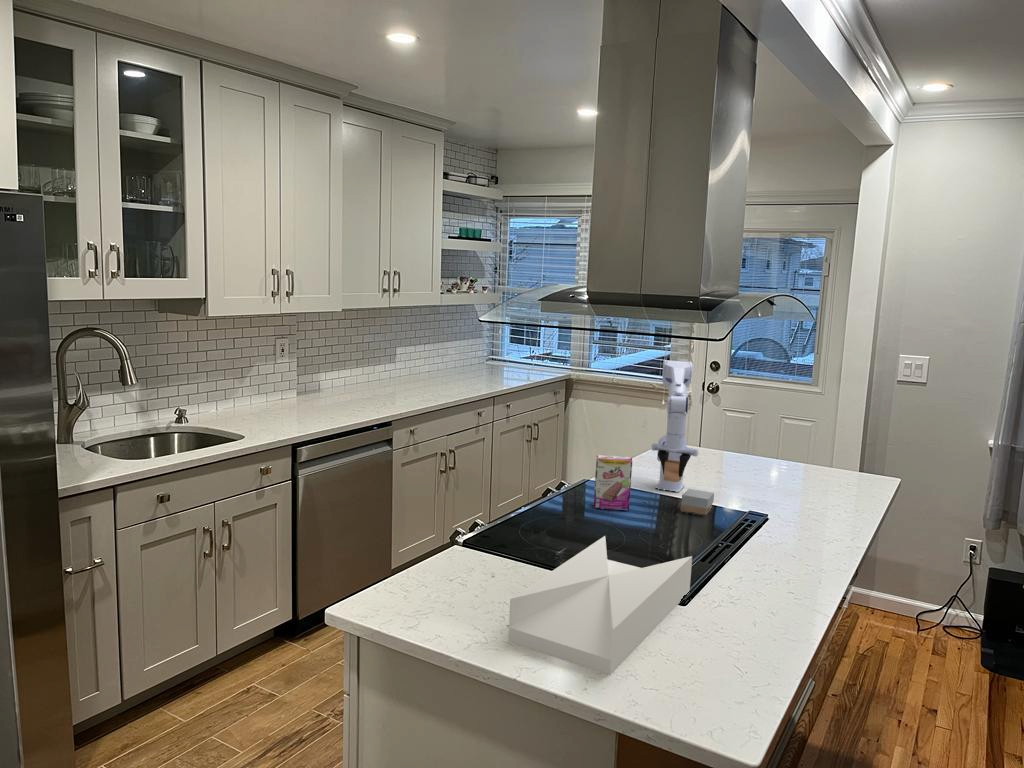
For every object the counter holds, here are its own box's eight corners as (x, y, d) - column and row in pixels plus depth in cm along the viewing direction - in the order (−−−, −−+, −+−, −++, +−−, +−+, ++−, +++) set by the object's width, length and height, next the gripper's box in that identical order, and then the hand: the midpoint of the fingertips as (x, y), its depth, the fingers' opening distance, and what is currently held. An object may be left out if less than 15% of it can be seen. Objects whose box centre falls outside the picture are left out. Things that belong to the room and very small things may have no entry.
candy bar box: (593, 509, 240) (596, 458, 238) (593, 504, 245) (596, 454, 243) (629, 511, 239) (632, 460, 237) (628, 507, 244) (632, 456, 242)
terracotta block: (667, 477, 250) (668, 459, 249) (681, 479, 248) (682, 461, 247) (663, 480, 246) (664, 461, 245) (677, 482, 244) (678, 463, 243)
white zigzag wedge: (603, 572, 193) (605, 535, 191) (689, 594, 182) (692, 555, 180) (508, 643, 155) (510, 598, 153) (609, 677, 143) (612, 629, 142)
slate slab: (688, 497, 248) (689, 488, 247) (713, 502, 244) (714, 492, 244) (681, 504, 241) (682, 494, 240) (707, 508, 237) (707, 499, 237)
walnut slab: (686, 506, 248) (687, 497, 248) (711, 511, 245) (712, 501, 244) (680, 513, 241) (680, 504, 241) (705, 518, 238) (706, 508, 237)
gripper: (649, 432, 245) (647, 474, 247) (695, 438, 238) (692, 481, 240) (656, 428, 251) (653, 469, 253) (701, 434, 245) (697, 476, 247)
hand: (672, 475), depth 247 cm, fingers closed on terracotta block, 4 cm apart
